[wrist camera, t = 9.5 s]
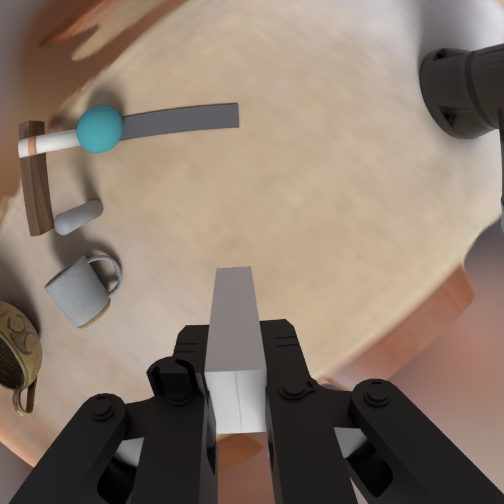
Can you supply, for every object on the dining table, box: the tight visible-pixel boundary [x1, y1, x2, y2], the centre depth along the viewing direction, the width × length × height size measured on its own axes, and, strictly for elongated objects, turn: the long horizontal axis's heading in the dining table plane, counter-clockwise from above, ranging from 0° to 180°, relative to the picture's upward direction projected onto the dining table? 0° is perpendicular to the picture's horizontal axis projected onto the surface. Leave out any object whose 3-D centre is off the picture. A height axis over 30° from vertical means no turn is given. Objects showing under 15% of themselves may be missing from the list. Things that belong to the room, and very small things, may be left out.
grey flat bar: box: [119, 104, 239, 141], centre depth 32 cm, size 16×3×1 cm, turn 92°
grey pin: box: [54, 200, 103, 235], centre depth 31 cm, size 2×2×9 cm
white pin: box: [18, 129, 81, 158], centre depth 28 cm, size 2×2×9 cm
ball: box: [76, 105, 123, 153], centre depth 29 cm, size 6×6×6 cm
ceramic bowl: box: [0, 301, 42, 416], centre depth 33 cm, size 22×17×15 cm
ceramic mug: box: [45, 255, 122, 328], centre depth 35 cm, size 11×8×8 cm
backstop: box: [19, 121, 55, 236], centre depth 31 cm, size 2×16×4 cm, turn 3°
